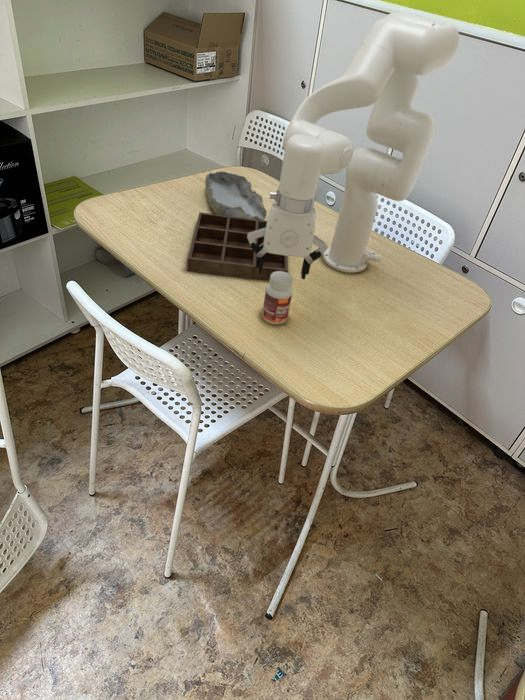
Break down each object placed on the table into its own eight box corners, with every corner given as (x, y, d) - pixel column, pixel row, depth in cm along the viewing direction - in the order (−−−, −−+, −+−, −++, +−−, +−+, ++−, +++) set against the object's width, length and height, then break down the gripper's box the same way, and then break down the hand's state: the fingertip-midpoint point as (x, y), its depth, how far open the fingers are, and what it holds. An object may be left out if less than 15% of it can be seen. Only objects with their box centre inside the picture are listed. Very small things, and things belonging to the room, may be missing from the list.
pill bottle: (276, 328, 121) (284, 288, 114) (256, 316, 124) (262, 276, 116) (292, 317, 125) (300, 278, 118) (272, 306, 127) (279, 266, 120)
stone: (267, 232, 159) (227, 184, 176) (274, 207, 153) (232, 160, 171) (226, 235, 152) (189, 185, 170) (232, 209, 147) (192, 160, 164)
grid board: (284, 234, 155) (286, 223, 153) (285, 283, 136) (287, 270, 133) (198, 223, 154) (199, 212, 151) (187, 271, 134) (187, 258, 132)
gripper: (252, 203, 101) (242, 277, 112) (339, 215, 102) (320, 287, 113) (253, 187, 107) (243, 259, 118) (335, 199, 108) (318, 269, 119)
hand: (281, 273), depth 116 cm, fingers open, 9 cm apart
